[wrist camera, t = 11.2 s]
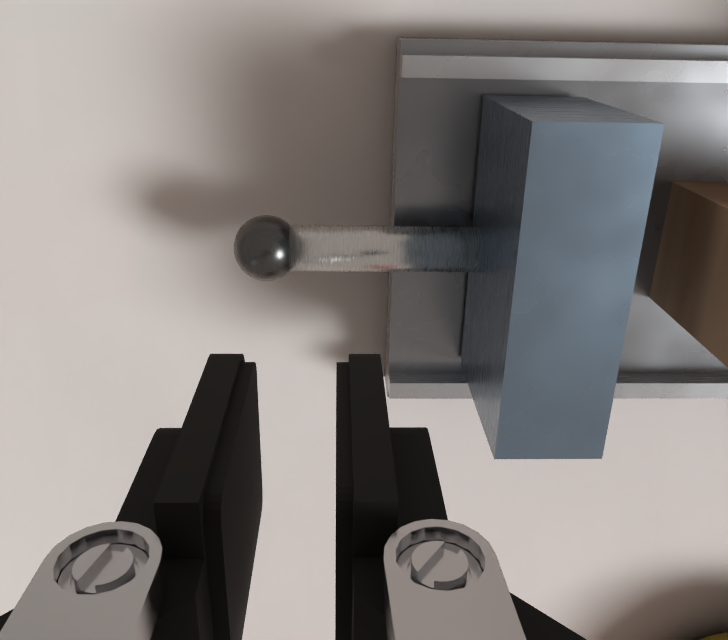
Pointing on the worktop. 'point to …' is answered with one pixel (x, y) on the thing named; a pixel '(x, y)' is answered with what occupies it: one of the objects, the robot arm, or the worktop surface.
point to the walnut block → (696, 263)
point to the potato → (717, 637)
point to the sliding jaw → (520, 265)
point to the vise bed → (458, 182)
